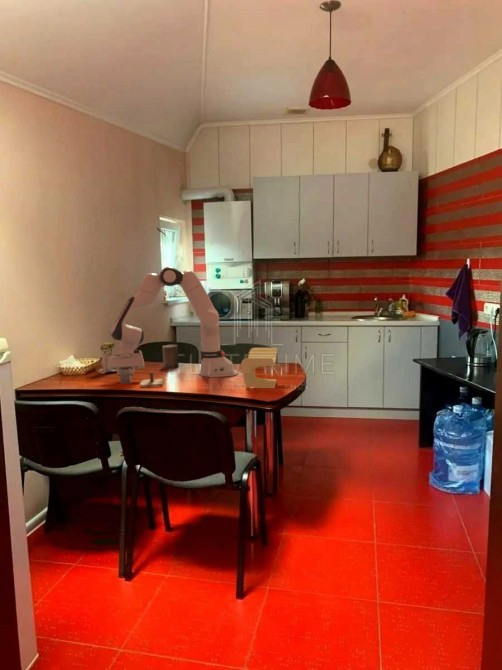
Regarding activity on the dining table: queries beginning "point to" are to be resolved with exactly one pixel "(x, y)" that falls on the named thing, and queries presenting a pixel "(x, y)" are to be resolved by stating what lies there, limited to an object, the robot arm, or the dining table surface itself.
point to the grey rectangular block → (125, 375)
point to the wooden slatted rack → (255, 360)
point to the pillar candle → (170, 356)
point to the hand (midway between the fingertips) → (125, 375)
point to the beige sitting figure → (106, 356)
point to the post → (152, 382)
